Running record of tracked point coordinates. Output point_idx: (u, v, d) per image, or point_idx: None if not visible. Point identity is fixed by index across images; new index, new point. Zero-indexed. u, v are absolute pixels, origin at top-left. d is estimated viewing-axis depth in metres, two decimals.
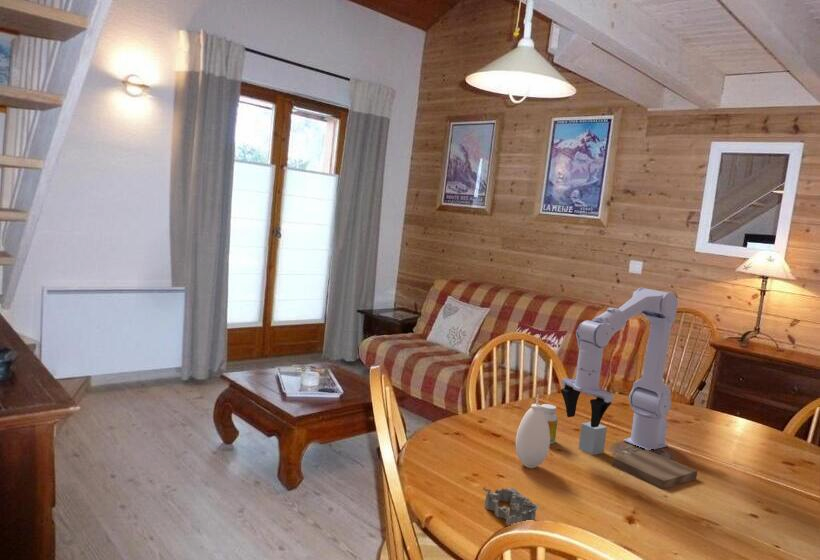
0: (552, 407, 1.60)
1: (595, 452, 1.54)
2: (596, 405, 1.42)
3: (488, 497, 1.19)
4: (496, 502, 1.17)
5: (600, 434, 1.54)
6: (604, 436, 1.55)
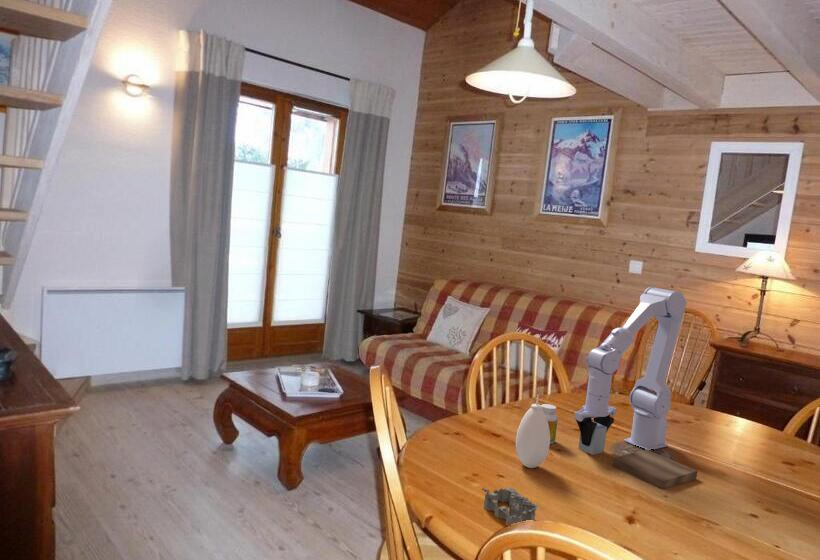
0: (552, 407, 1.60)
1: (595, 452, 1.54)
2: None
3: (487, 497, 1.19)
4: (496, 502, 1.16)
5: (600, 434, 1.54)
6: (604, 436, 1.55)
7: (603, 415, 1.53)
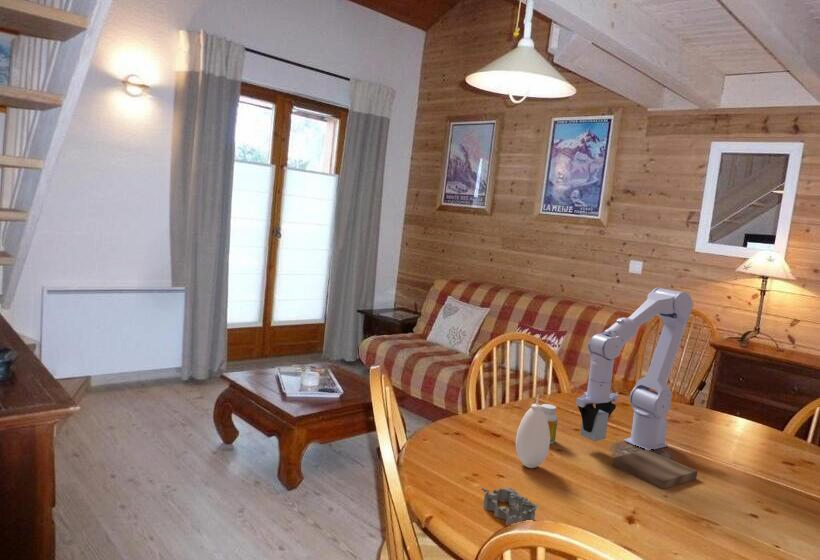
0: (552, 407, 1.60)
1: (597, 438, 1.54)
2: None
3: (487, 498, 1.19)
4: (496, 502, 1.16)
5: (602, 420, 1.54)
6: (606, 422, 1.55)
7: (605, 401, 1.52)
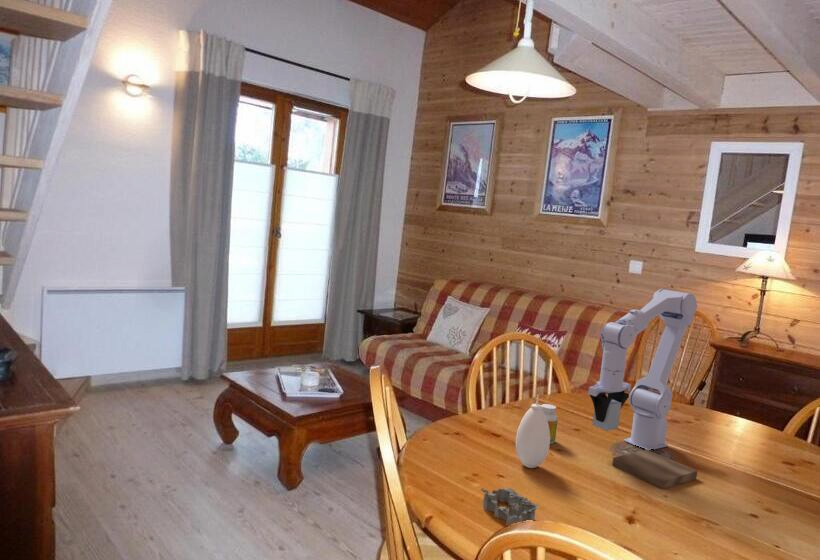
0: (552, 407, 1.60)
1: (609, 428, 1.52)
2: None
3: (486, 498, 1.19)
4: (495, 503, 1.16)
5: (614, 410, 1.52)
6: (619, 412, 1.53)
7: (618, 390, 1.50)
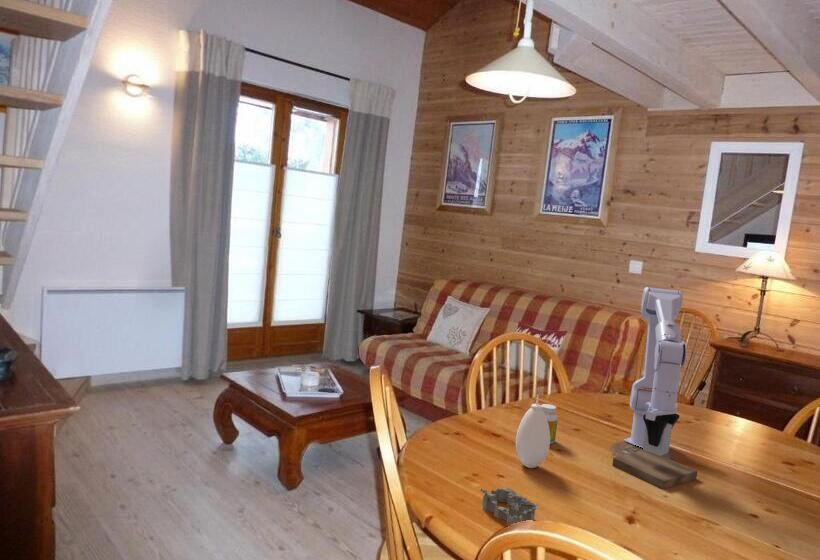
0: (552, 407, 1.60)
1: (663, 452, 1.43)
2: None
3: (486, 498, 1.19)
4: (495, 503, 1.16)
5: (667, 433, 1.43)
6: (670, 434, 1.45)
7: (673, 412, 1.42)
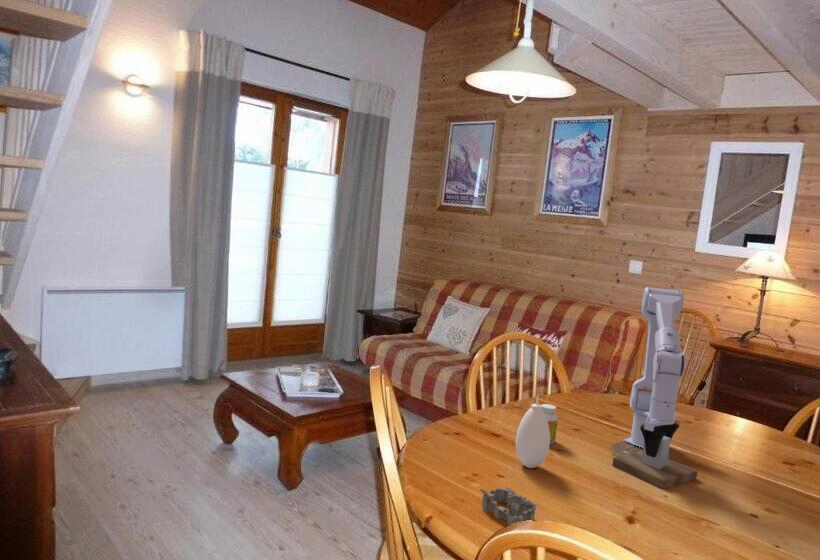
0: (552, 407, 1.60)
1: (661, 466, 1.43)
2: None
3: (486, 499, 1.18)
4: (495, 503, 1.16)
5: (665, 446, 1.44)
6: (668, 448, 1.45)
7: (672, 422, 1.42)
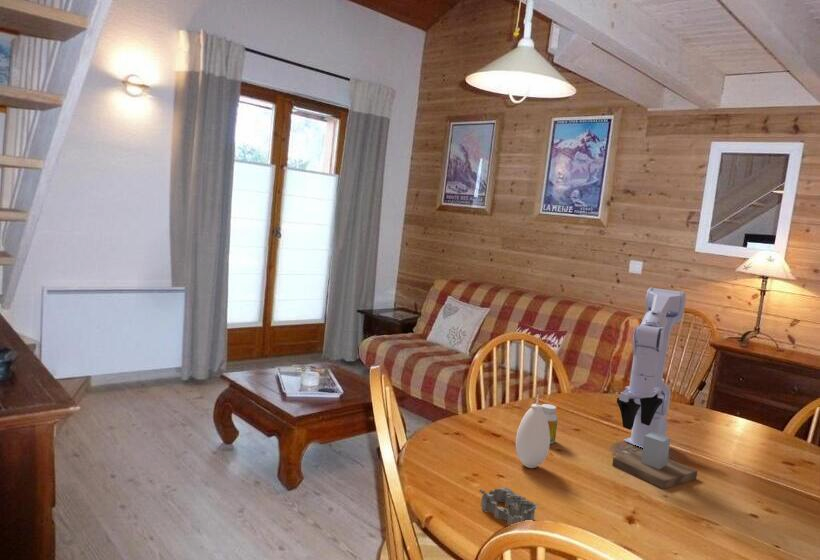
0: (552, 407, 1.60)
1: (661, 466, 1.43)
2: None
3: (485, 499, 1.18)
4: (495, 504, 1.16)
5: (665, 446, 1.44)
6: (668, 448, 1.45)
7: (650, 396, 1.44)
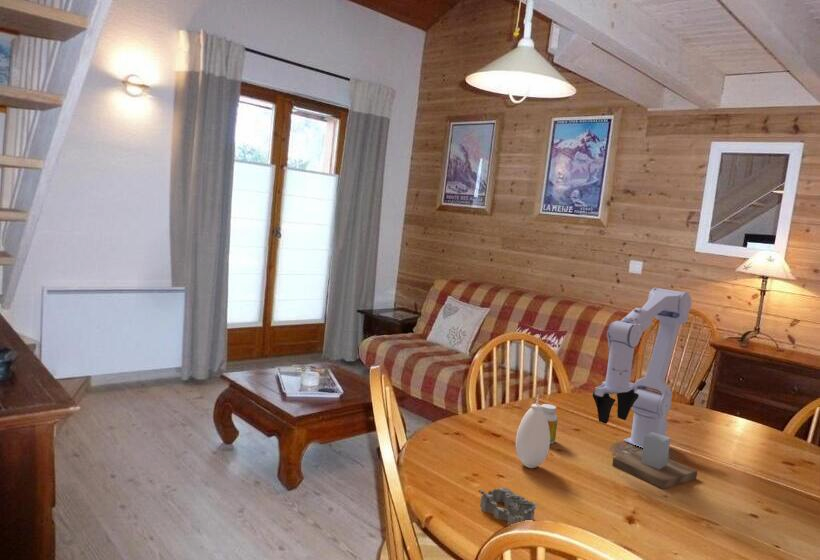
0: (552, 407, 1.60)
1: (661, 466, 1.43)
2: None
3: (485, 499, 1.18)
4: (495, 504, 1.16)
5: (665, 446, 1.44)
6: (668, 448, 1.45)
7: (625, 390, 1.47)
